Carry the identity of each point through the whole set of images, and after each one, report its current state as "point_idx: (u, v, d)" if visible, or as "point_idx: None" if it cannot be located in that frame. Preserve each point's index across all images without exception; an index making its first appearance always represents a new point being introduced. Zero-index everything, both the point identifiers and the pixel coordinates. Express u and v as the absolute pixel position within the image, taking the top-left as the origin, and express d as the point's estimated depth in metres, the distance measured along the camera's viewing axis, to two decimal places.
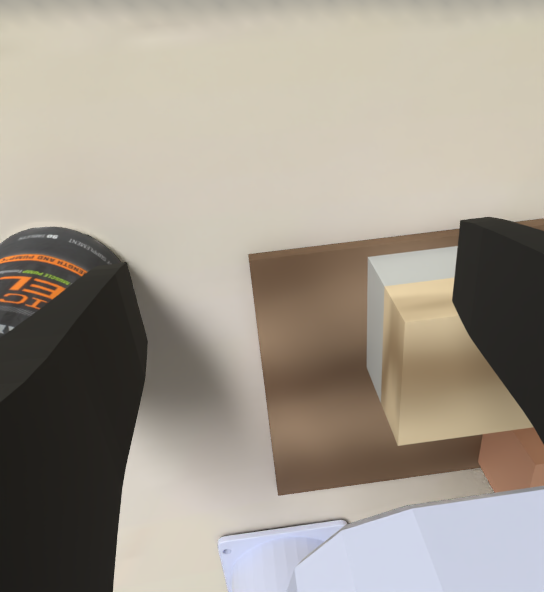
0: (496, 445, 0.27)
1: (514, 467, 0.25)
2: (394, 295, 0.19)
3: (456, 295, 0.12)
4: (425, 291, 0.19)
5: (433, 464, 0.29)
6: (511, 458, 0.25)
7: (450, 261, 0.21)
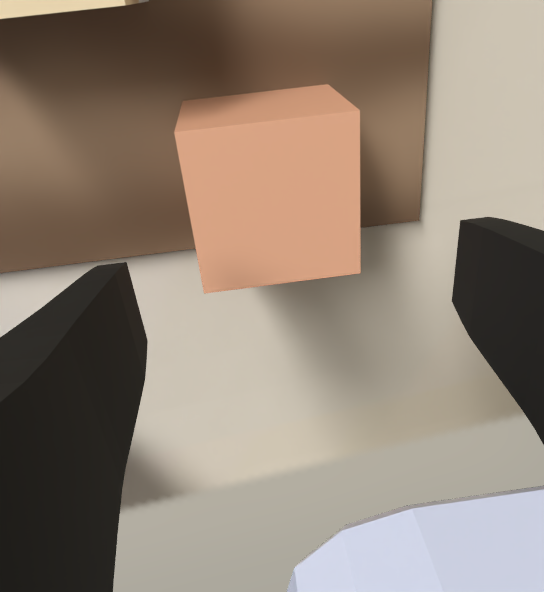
0: None
1: None
2: None
3: (456, 296, 0.12)
4: None
5: (137, 236, 0.20)
6: None
7: None
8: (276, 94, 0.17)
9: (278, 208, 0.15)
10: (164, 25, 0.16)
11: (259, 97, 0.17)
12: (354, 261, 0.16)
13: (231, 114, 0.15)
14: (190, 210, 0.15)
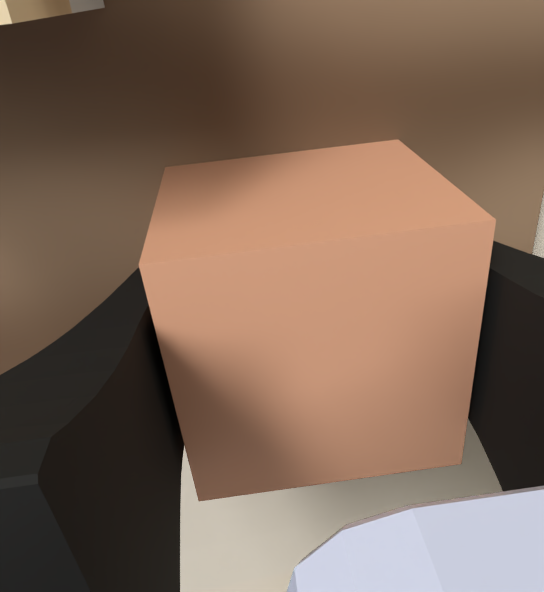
0: None
1: None
2: None
3: None
4: None
5: None
6: None
7: None
8: (318, 160, 0.10)
9: (331, 380, 0.08)
10: (132, 47, 0.10)
11: (290, 166, 0.10)
12: (453, 449, 0.10)
13: (247, 213, 0.08)
14: (173, 387, 0.08)
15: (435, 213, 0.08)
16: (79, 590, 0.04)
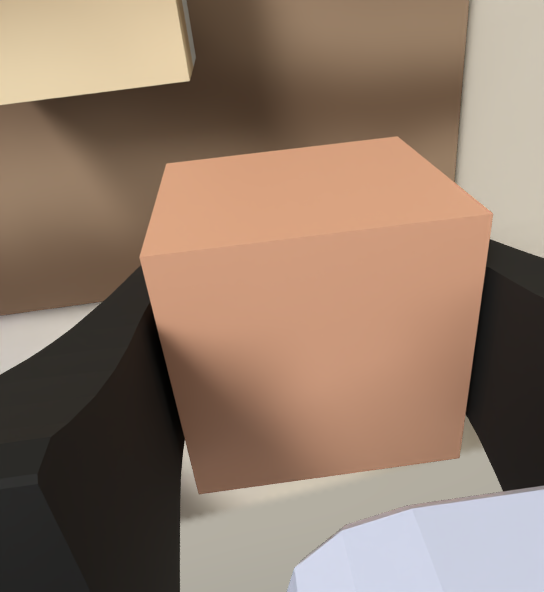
0: None
1: None
2: None
3: None
4: None
5: None
6: None
7: None
8: (317, 156, 0.10)
9: (330, 373, 0.09)
10: (209, 78, 0.17)
11: (290, 162, 0.10)
12: (451, 443, 0.10)
13: (247, 207, 0.08)
14: (173, 380, 0.08)
15: (433, 207, 0.08)
16: (79, 590, 0.04)
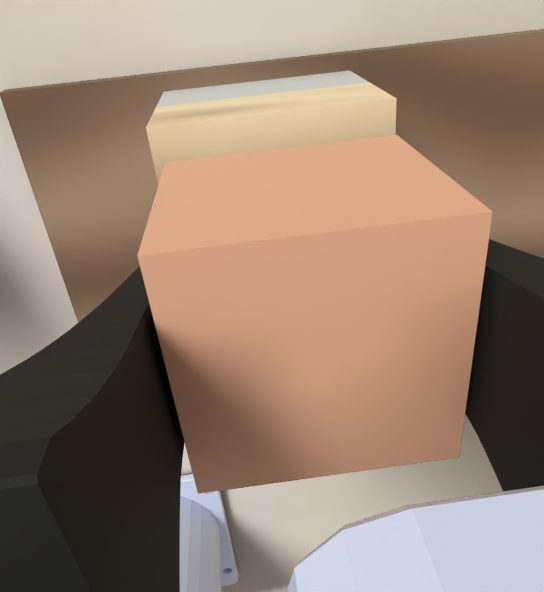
0: None
1: None
2: (159, 111, 0.14)
3: None
4: (205, 106, 0.14)
5: None
6: None
7: (261, 87, 0.15)
8: (317, 155, 0.10)
9: (329, 372, 0.08)
10: None
11: (289, 161, 0.10)
12: (451, 442, 0.10)
13: (245, 206, 0.08)
14: (171, 380, 0.08)
15: (432, 205, 0.08)
16: (79, 590, 0.04)
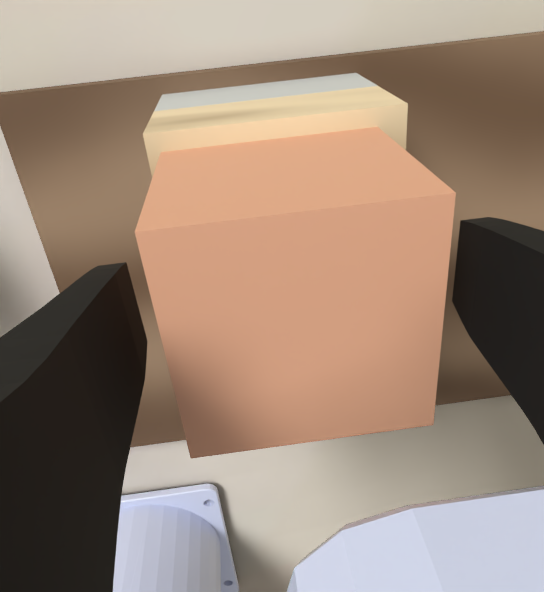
0: None
1: None
2: (157, 116, 0.13)
3: (457, 296, 0.12)
4: (205, 111, 0.13)
5: None
6: None
7: (265, 90, 0.15)
8: (302, 145, 0.11)
9: (311, 342, 0.09)
10: None
11: (276, 150, 0.11)
12: (425, 410, 0.10)
13: (234, 189, 0.09)
14: (166, 348, 0.09)
15: (403, 188, 0.08)
16: None
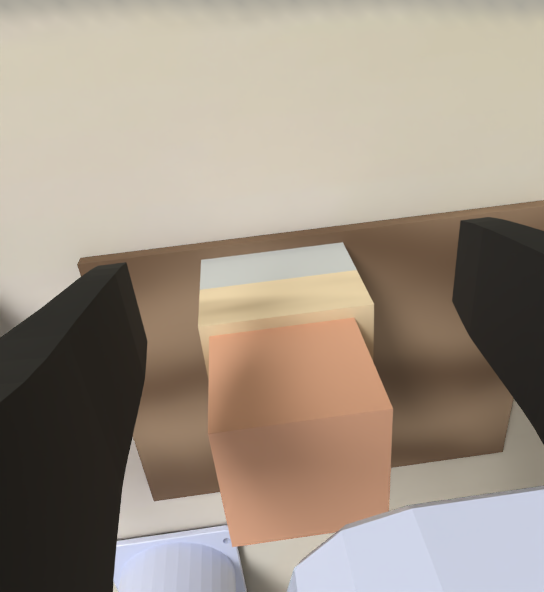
0: None
1: None
2: (203, 299, 0.19)
3: (456, 295, 0.12)
4: (236, 294, 0.19)
5: None
6: None
7: (276, 264, 0.21)
8: (303, 337, 0.17)
9: (309, 482, 0.15)
10: None
11: (287, 343, 0.17)
12: None
13: (262, 391, 0.15)
14: (221, 488, 0.15)
15: (363, 400, 0.14)
16: None
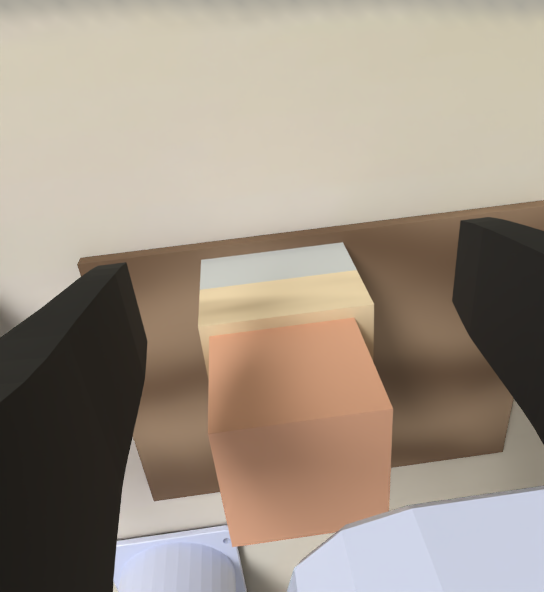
0: None
1: None
2: (203, 299, 0.19)
3: (456, 295, 0.12)
4: (236, 294, 0.19)
5: None
6: None
7: (276, 264, 0.21)
8: (303, 337, 0.17)
9: (309, 482, 0.15)
10: None
11: (287, 343, 0.17)
12: None
13: (262, 391, 0.15)
14: (221, 488, 0.15)
15: (363, 400, 0.14)
16: None
